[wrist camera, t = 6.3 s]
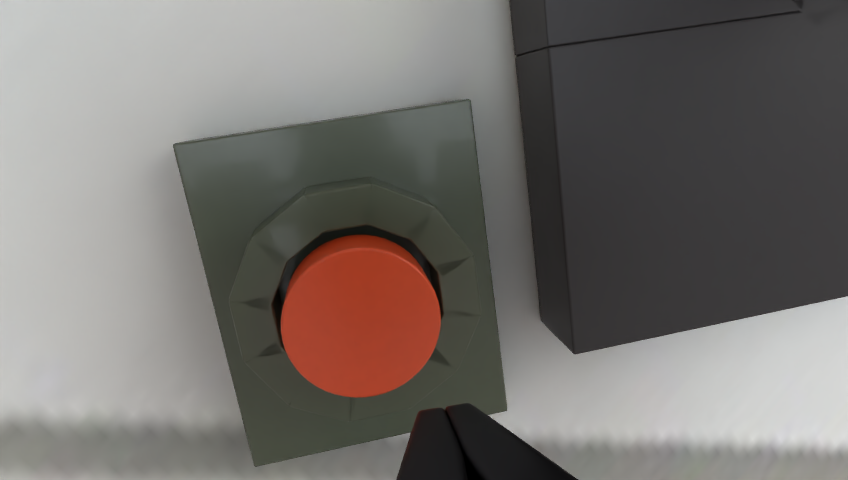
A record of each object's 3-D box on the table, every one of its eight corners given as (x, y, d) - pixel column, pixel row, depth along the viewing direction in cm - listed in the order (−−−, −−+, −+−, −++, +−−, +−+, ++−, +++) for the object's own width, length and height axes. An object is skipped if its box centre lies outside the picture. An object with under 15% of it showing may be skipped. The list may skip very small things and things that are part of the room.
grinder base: (893, 249, 23) (974, 270, 20) (540, 322, 21) (573, 355, 18) (926, -225, 19) (1034, -285, 16) (490, -187, 17) (523, -248, 14)
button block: (496, 392, 22) (522, 436, 19) (259, 444, 20) (247, 499, 18) (460, 99, 19) (484, 97, 16) (183, 141, 18) (155, 147, 15)
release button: (439, 355, 18) (451, 381, 16) (301, 384, 17) (298, 413, 16) (419, 221, 17) (429, 234, 15) (271, 248, 16) (264, 264, 15)
